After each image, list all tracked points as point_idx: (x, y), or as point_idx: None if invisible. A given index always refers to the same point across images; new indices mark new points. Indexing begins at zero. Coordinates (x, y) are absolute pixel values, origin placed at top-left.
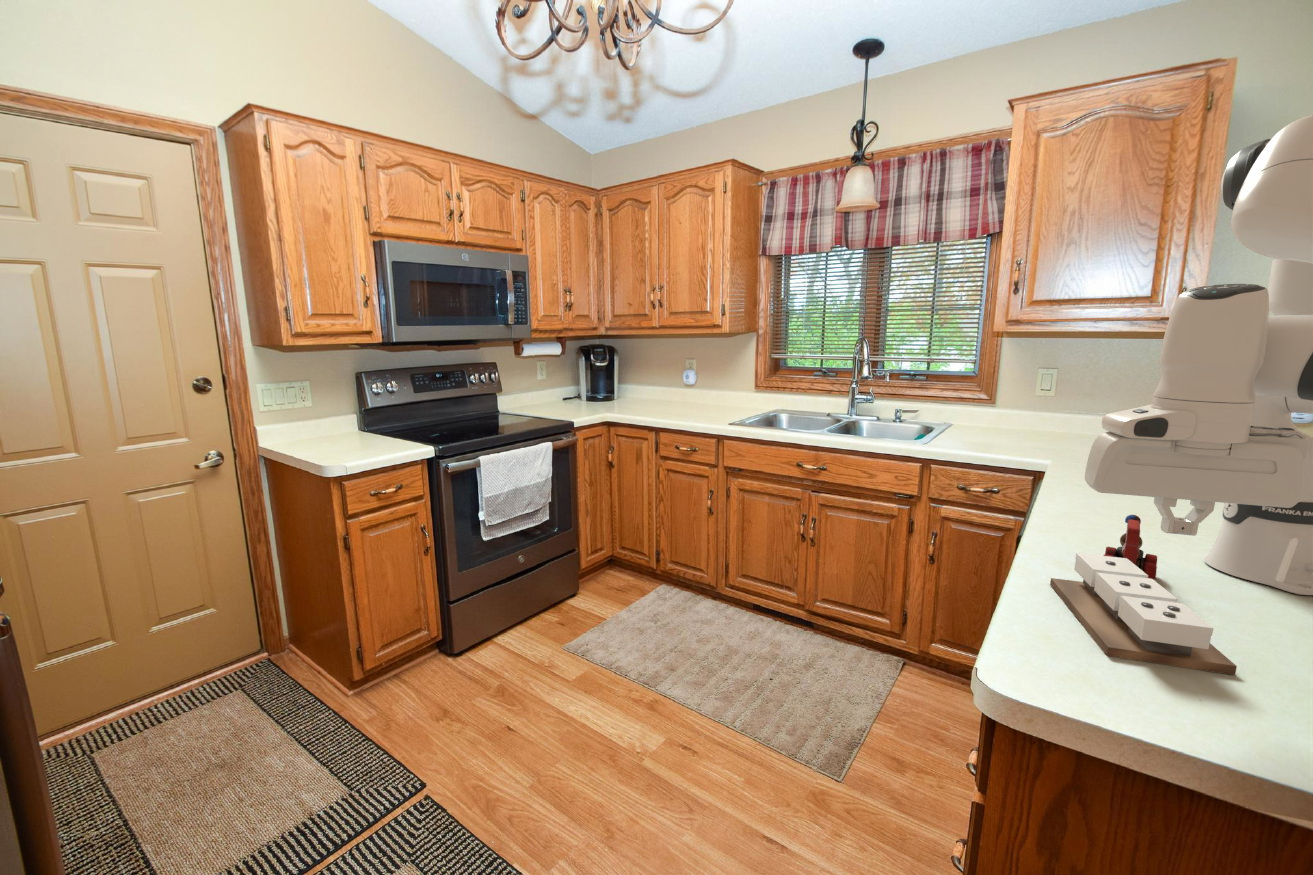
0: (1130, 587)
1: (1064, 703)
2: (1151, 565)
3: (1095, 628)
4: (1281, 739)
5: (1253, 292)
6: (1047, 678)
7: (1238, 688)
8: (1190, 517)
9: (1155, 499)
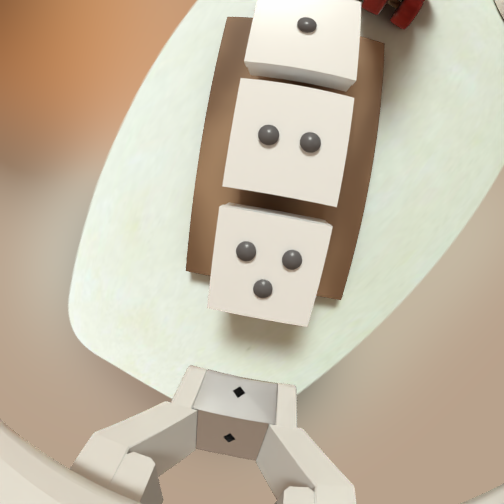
0: (270, 154)
1: (116, 355)
2: (413, 5)
3: (196, 211)
4: None
5: None
6: (110, 320)
7: (315, 322)
8: (269, 454)
9: (89, 454)
